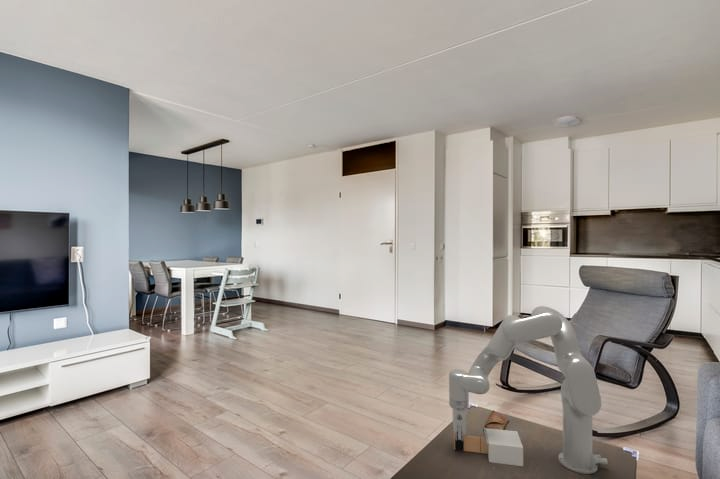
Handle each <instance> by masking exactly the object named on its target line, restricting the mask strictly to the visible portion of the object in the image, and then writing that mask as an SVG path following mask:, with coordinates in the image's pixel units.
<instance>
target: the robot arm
mask: <svg viewBox="0 0 720 479" xmlns="http://www.w3.org/2000/svg"><path fill="white" fill-rule="evenodd" d="M494 332H495V333H494V334H493V336H492V337H491V339H490V340H489V342H488V344H487V345H486V346H485V347H484V348H483V349H482V351H481V352H480V353H479V354H478V355H477V356H476V358H475V360H474V362H473V364H472V365H471V366H470V368H469V370H468V372H467V371H465V370H464V369H457V368H456V369H451V370H450V371H449V373H448V386H449V389H448V393H449V394H448V400H449V402H448V403H449V405H448V406H449V407H450V408H451V409H452V410H451V412H452V426H453V435H454V434H455V435H456V439H455V450H454V451H461V452H464V451H463V450H464V440H463V435H465V436H466V435H468V428H467V426H468V424H467V422H468V420H467V410H468V409H469V408H470V403H469V401H470V398H469V397H470V395H469V393H471V394H476V395H486V394H487V393H488V392H489V391H490V388H491V385H490V381H489V378H488V377H489V375H490V374H491V372H492V370H493V369H494V368H495V366H496V365H497V364H499V363H500V362H502V361H505V360H507V359H508V358H509V356H510V355H511V354H512V352H513V351H514V349H515V347H516V346H517V344H520V343H521V344H522V343H527V342H532V341H536V340H541V339H544V338H550V339H551V343H552V345H553V349H554V354H555V355H554V356H555V359H556V365H557V368H558V370H559V371H560V372H561V373H562V374H563V376H564V378H565V379H564V380H563V381H562V383H561V387H560V396H561V406H562V452H559V454H558V457H557V458H558V462H559V463H560V464H561V466H563V467H564V468H566V469H568V470H570V471H572V472H576V473H579V474H584V475H585V474H586V475H589V474H595V473H596V472H597V471H598V464H602V465H608V463H609V461H608V458H607V457H602V456H601V454H594V453H593V416H596V415H597V414H599V412H600V410H601V408H602V397H601V394H600V393H601V392H600V389H599V385H598V384H599V383H598V379H597V377H596V374H595V373H596V372H595V370H594V368H593V366H592V364H591V362H590V361H588V360H587V359H586V358H585V357H584V356H583V355H582V352H581V347H580V345H579V342H578V339H577V335H576V332H575V329H574V327H573V326H572V324H571V322H570V321H569V320H568V319H567V318H566V317H565V316H564V315H563V314H562V313H561V312H559V311H557V310H556V309H554V308H552V307H549V306H542V305H541V306H536V307H535V308H533V310H531V313H530V316H528V317H524V318H521V317H520V316H517V315H513V314H510V315H507V316H506V317H505V318H503V320H502V321H501V323H500V324H499V326H498V328H497V329H496V331H494ZM457 435H458V436H457ZM461 435H462V436H461Z"/></svg>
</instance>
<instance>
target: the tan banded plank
mask: <svg viewBox="0 0 720 479" xmlns="http://www.w3.org/2000/svg"><path fill="white" fill-rule="evenodd" d="M457 436H458V435H457ZM461 436H462V435H461ZM455 439H456V435H455V434H454V433H453V449H454V451H456V450H455ZM463 440H464V450H463V451H462V452H471V453H479V454H486V455H488V445H487V444H486V439H485V436H482V435H481V436H480V435H470V434H467V435H466V436H465V435H463Z"/></svg>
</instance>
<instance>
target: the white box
mask: <svg viewBox="0 0 720 479" xmlns="http://www.w3.org/2000/svg"><path fill="white" fill-rule="evenodd" d="M483 428H484V427H483ZM483 433H484V437H485V439H486V444H487V445H488V454H487V459H488V462H489V463H493V464H500V465H509V466H510V465H511V466H518V467H524V445H523V443H522V441H521V438H520V436H519V433H518V431H515V430H506V429H505V430H498V429H489V428H484V431H483Z"/></svg>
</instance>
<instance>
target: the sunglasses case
mask: <svg viewBox="0 0 720 479" xmlns="http://www.w3.org/2000/svg"><path fill="white" fill-rule="evenodd" d="M509 422H510V420H509V419H508V418H506V417H504V416H502V415H501V414H499V413H497V412H496V411H495V410H492V411H491V412H490V414H489V416H488V418H487V420H486V422H485V423H484V427H483V428H482V430H483V432H484V428H489V429H498V430H506V427H507V425H508V424H509Z"/></svg>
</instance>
